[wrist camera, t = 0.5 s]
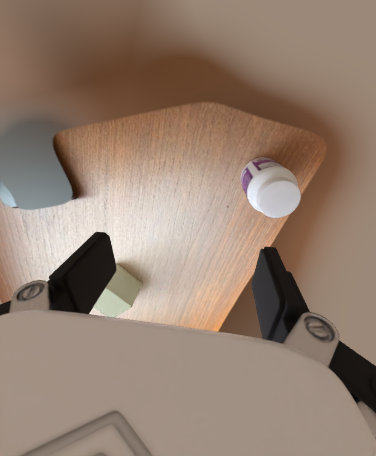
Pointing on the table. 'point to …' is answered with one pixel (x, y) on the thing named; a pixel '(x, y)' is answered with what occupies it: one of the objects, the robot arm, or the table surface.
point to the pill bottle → (270, 187)
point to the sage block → (118, 293)
